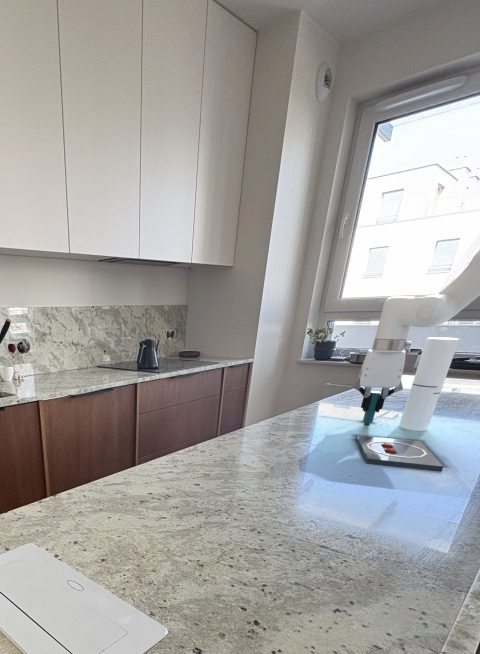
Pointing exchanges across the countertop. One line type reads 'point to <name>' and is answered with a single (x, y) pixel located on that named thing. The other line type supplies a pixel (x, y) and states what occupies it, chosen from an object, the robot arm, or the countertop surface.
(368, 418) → the marker
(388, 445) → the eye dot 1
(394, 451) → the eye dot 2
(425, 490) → the countertop surface
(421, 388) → the cylindrical container
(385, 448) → the slate board
